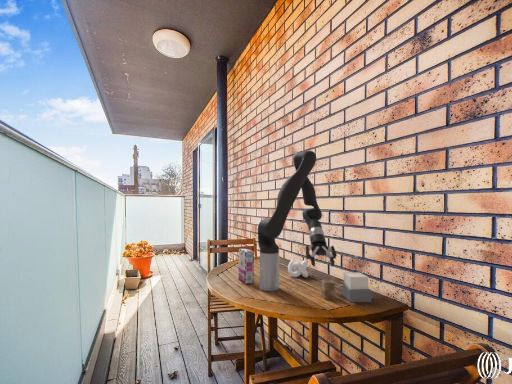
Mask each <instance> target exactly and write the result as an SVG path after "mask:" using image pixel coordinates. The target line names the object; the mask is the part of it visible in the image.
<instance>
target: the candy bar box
mask: <svg viewBox="0 0 512 384" xmlns="http://www.w3.org/2000/svg"><path fill="white" fill-rule="evenodd" d="M254 256H255V253H254V251H253V250H251V249H249V248H238V280H239V281H240V282H242V283H243V284H244V285H251V284H254V277H255V276H254V272H255V271H254V265H255V263H254V262H255V261H254V259H255V257H254Z"/></svg>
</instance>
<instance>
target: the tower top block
mask: <svg viewBox="0 0 512 384" xmlns="http://www.w3.org/2000/svg"><path fill="white" fill-rule="evenodd" d="M343 284H345V285H346V286H347V287H348V288H350V289H368V288H369V277H368V276H367V275H366V274H364V273H362V272H357V271H356V272H355V271H354V272H351V271H349V272H343Z"/></svg>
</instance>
